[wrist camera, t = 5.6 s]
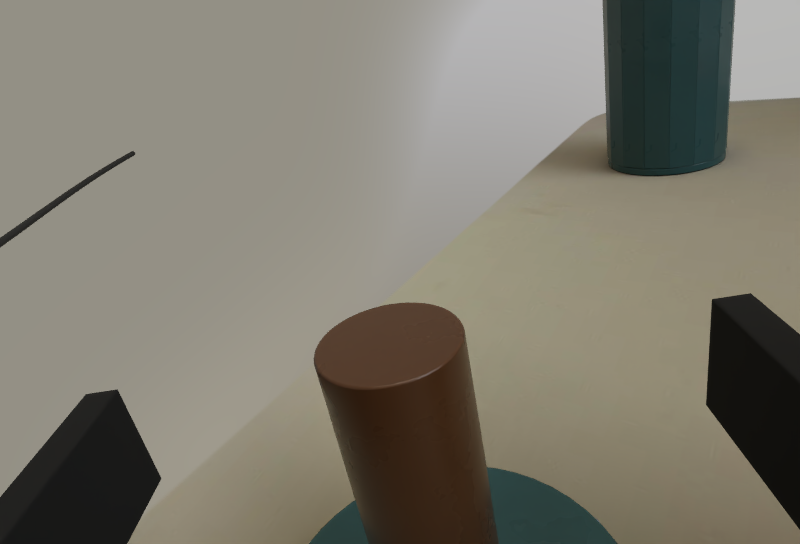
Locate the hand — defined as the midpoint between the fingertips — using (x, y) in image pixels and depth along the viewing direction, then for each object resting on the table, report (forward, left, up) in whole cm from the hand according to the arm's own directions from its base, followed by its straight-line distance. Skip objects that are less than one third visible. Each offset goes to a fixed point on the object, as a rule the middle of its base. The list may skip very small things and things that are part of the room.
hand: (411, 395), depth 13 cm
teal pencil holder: (-27, +27, -6) cm, 39 cm away
